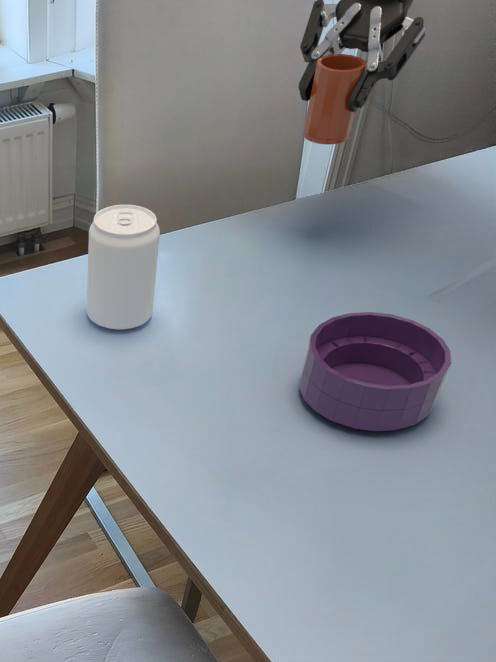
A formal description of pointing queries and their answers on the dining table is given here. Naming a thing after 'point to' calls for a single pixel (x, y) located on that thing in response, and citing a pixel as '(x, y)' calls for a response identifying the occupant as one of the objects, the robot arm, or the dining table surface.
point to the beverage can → (122, 266)
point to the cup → (332, 98)
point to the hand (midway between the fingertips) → (327, 102)
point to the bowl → (374, 371)
